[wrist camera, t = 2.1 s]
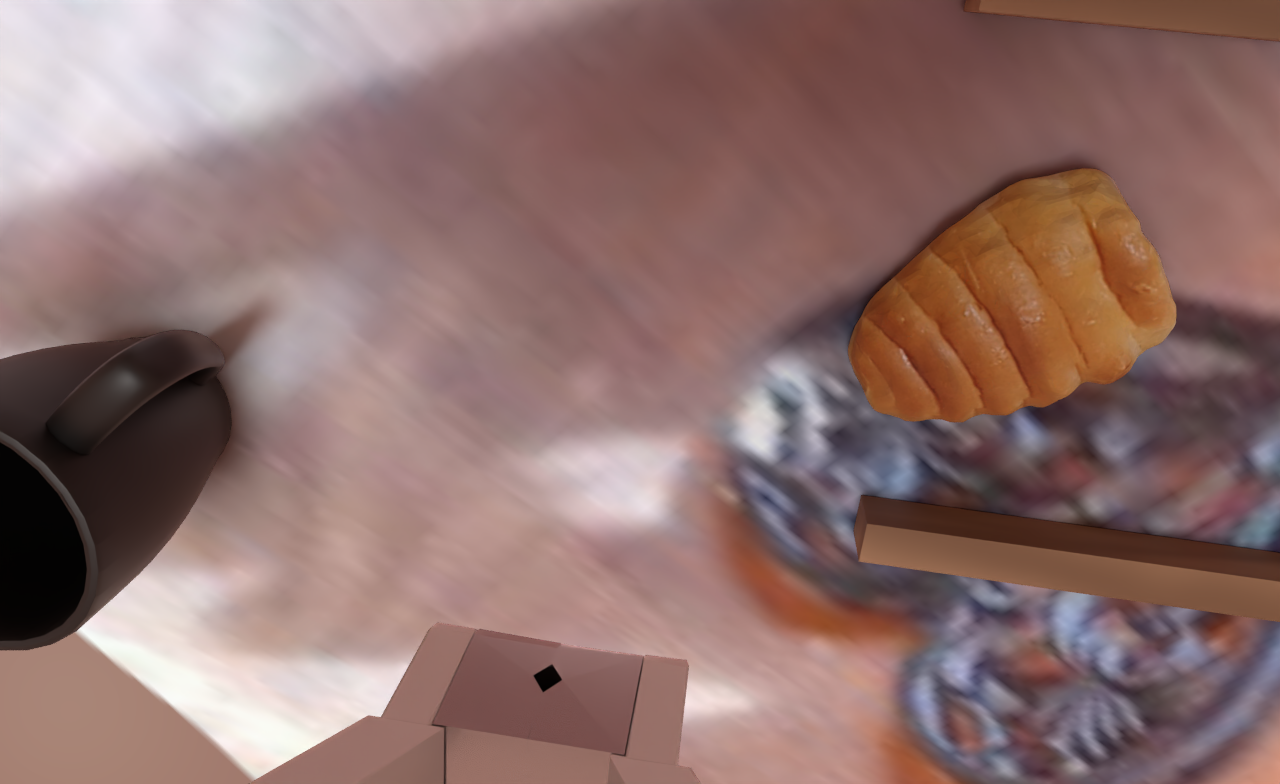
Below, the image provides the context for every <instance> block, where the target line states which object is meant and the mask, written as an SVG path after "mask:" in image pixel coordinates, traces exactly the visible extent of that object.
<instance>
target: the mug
mask: <svg viewBox="0 0 1280 784" xmlns="http://www.w3.org/2000/svg"><path fill="white" fill-rule="evenodd" d="M224 363H225V361H224V356H223V353H222V352H221V350H220V349H219V347H218V346H217V345H216V344H215V343H214V342H213V341H211V340H210V339H209V338H208V337H206V336H204V335H201V334H199V333H197V332H193V331H185V330H172V331H166V332H161V333H157V334H154V335H152V336H149V337H140V338H129V339H125V340H119V341H108V342H93V343H82V344H72V345H64V346H58V347H52V348H45V349H40V350H36V351H31V352H27V353H22V354H18V355H14V356H10V357H7V358H4V359H0V650H30V649H34V648H38V647H42V646H47V645H51V644H53V643H56V642H57V641H59V640H61V639H63V638H65V637H67V636H68V635H70V634H72V633H74V632H76V631H77V630H78V629H79V628H80V627H81V626H83V625H84V624H85V623H86V622H87V621H88V620H89V619H90V618H91V617H93V616H94V615H95V614H96V613H97V612H98V611H99V610H100V609H101V608H103V607H104V606H105V605H106V604H107V603H108V602H109V601H110V600H111V599H113V598H114V597H115V596H116V595H117V594H118V593H119V592H120V591H121V590H122V589H124V588H125V587H126V586H127V585H128V584H129V583H130V582H131V581H132V580H133V579H134V578H135V577H136V576H138V575H139V574H140V572H141V571H142V570H143V569H144V568H145V567H146V566H147V565H148V564H149V563H150V562H151V561H152V560H153V559H154V558H155V556H156V555H157V554H158V553H159V552H160V551H161V549H162V548H163V547H164V546H165V545H166V543H167V542H168V541H169V540H170V539H171V537H172V536H173V535H174V533H175V532H176V531H177V529H178V528H179V526H180V525H181V524H182V522H183V521H184V519H185V518H186V516H187V515H188V513H189V512H190V510H191V508H192V507H193V505H194V503H195V502H196V500H197V498H198V496H199V494H200V493H201V491H202V489H203V487H204V485H205V483H206V481H207V479H208V477H209V475H210V473H211V471H212V469H213V467H214V465H215V463H216V461H217V459H218V457H219V456H220V455H221V453H222V452H223V450H224V448H225V446H226V444H227V442H228V440H229V435H230V430H231V411H230V406H229V403H228V400H227V396H226V394H225V392H224V390H223V388H222V386H221V384H220V382H219V381H218V379H217V378H216V376H215V375H216V374H217V373H218V372H219V371H220V370H221V368H222V367H223V365H224Z"/></svg>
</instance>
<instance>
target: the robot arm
mask: <svg viewBox="0 0 1280 784" xmlns="http://www.w3.org/2000/svg"><path fill="white" fill-rule="evenodd" d="M688 670H689V665H688V662H687V660H682V659H674V658H666V657H659V656H651V655H645V658H644V656H641V655H635V654H628V653H621V652H614V651H607V650H601V649H594V648H587V647H580V646H573V645H567V644H561V643H557V642H551V641H545V640H540V639H534V638H528V637H523V636H517V635H511V634H506V633H500V632H494V631H489V630H483V629H479V630H477V629H474V628H468V627H462V626H456V625H450V624H444V623H439V622H437V623H436V624H435V625H434V626H432V627H431V628H430V629H429V630H428V632H427V634H426V636H425V637H424V639H423V641H422V643H421V645H420V646H419V648H418V650H417V652H416V654H415V656H414V657H413V659H412V661H411V663H410V665H409V667H408V668H407V670H406V672H405V674H404V676H403V678H402V679H401V681H400V683H399V685H398V687H397V689H396V690H395V692H394V694H393V696H392V698H391V700H390V701H389V703H388V705H387V707H386V709H385V710H384V712H383V714H382V716H381V717H375V716H366V717H365V718H363V719H361V720H359V721H358V722H356V723H354V724H352V725H351V726H349V727H347V728H345V729H344V730H342V731H340V732H338V733H337V734H335V735H333V736H331V737H330V738H328V739H326V740H324V741H323V742H321V743H319V744H317V745H316V746H314V747H312V748H310V749H309V750H307V751H305V752H303V753H302V754H300V755H298V756H296V757H295V758H293V759H291V760H289V761H288V762H286V763H284V764H282V765H280V766H279V767H277V768H275V769H273V770H272V771H270V772H268V773H266V774H265V775H263V776H261V777H259V778H258V779H256V780H254V781H252V782H251V783H249V784H701V783H700V781H699V780H698V778H697V777H696V775H695V774H694V772H693V770H692V769H691V768H689V767H684V766H678V759H679V750H680V741H681V732H682V723H683V714H684V705H685V697H686V688H687V679H688Z"/></svg>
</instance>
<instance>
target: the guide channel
mask: <svg viewBox="0 0 1280 784" xmlns="http://www.w3.org/2000/svg"><path fill="white" fill-rule="evenodd" d="M964 11H965V12H975V13H986V14H996V15H1007V16H1017V17H1028V18H1038V19H1049V20H1059V21H1070V22H1080V23H1090V24H1101V25H1111V26H1122V27H1132V28H1143V29H1153V30H1164V31H1174V32H1185V33H1195V34H1206V35H1216V36H1227V37H1237V38H1248V39H1258V40H1269V41H1279V42H1280V0H966V2H965V6H964ZM854 536H855V542H856V547H857V553H858V559H859V561H860V562H867V563H874V564H881V565H888V566H895V567H902V568H909V569H916V570H923V571H930V572H937V573H944V574H951V575H958V576H965V577H972V578H979V579H986V580H992V581H999V582H1006V583H1013V584H1020V585H1027V586H1034V587H1041V588H1048V589H1055V590H1062V591H1069V592H1076V593H1083V594H1090V595H1097V596H1104V597H1111V598H1118V599H1125V600H1132V601H1138V602H1145V603H1152V604H1159V605H1166V606H1173V607H1180V608H1187V609H1194V610H1201V611H1208V612H1215V613H1222V614H1229V615H1236V616H1243V617H1250V618H1257V619H1264V620H1271V621H1277V622H1280V553H1277V552H1270V551H1263V550H1255V549H1248V548H1241V547H1234V546H1226V545H1219V544H1212V543H1205V542H1198V541H1190V540H1183V539H1176V538H1169V537H1161V536H1154V535H1147V534H1140V533H1132V532H1125V531H1118V530H1111V529H1103V528H1096V527H1089V526H1082V525H1074V524H1067V523H1060V522H1053V521H1045V520H1038V519H1031V518H1024V517H1016V516H1009V515H1002V514H995V513H988V512H980V511H973V510H966V509H959V508H951V507H944V506H937V505H930V504H922V503H915V502H908V501H901V500H893V499H886V498H879V497H872V496H864V495H861V498H860V503H859V508H858V513H857V517H856V522H855V527H854Z"/></svg>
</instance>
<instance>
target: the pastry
mask: <svg viewBox="0 0 1280 784" xmlns="http://www.w3.org/2000/svg"><path fill="white" fill-rule="evenodd" d="M1175 324H1176V304H1175V303H1174V300H1173V298H1172V294H1171V290H1170V287H1169V283H1168V280H1167V278H1166V275H1165V273H1164V270H1163V266H1162V263H1161V260H1160V257H1159V255H1158V253H1157V252H1156V250H1155V248H1154V247H1153V245H1152V244H1151V243H1150V241H1149V240H1148V239H1147V238H1146V237H1145V236H1144V235H1143V233H1142V232H1141V226H1140V222H1139V220H1138V219H1137V218H1136V216H1135V215H1134V214H1133V213H1132V211H1131V210H1130V208H1129V206H1128V205H1127V203H1126V201H1125V199H1124V198H1123V196H1122V195H1121V193H1120V191H1119V189H1118V188H1117V186H1116V183H1115V182H1114V180H1113V179H1112V178H1111V177H1110V176H1108V175H1107V174H1106V173H1104V172H1102V171H1100V170H1097V169H1086V168H1081V169H1075V170H1070V171H1065V172H1060V173H1057V174H1053V175H1049V176H1043V177H1037V178H1031V179H1025V180H1021V181H1019V182H1017V183H1014V184H1012V185H1010V186H1008V187H1007V188H1005V189H1004V190H1002V191H1001V192H999V193H998V194H996V195H994V196H992V197H991V198H989V199H987V200H986V201H984V202H982V203H981V204H980V205H978V206H977V207H976V208H975V209H974V210H973V211H972V212H971V213H969V214H968V215H967V216H965V217H964V218H963V219H961V220H960V221H958V222H957V223H955V224H954V225H952V226H951V227H949V228H948V229H947V230H945V231H944V232H943V233H942V234H940V235H939V236H938V237H937V238H936V239H935V240H933V241H932V242H931V243H930V244H929V245H928V246H927V247H926V248H925V249H924V250H923V251H921V252H920V253H919V254H918V255H917V256H916V257H915V258H914V259H913V260H912V261H911V262H909V263H908V264H907V265H906V266H905V267H904V268H903V269H902V270H901V271H900V272H899V273H898V274H897V275H896V276H895V277H893V278H892V279H891V280H890V281H889V282H888V283H887V284H885V285H884V286H883V287H882V288H881V289H880V290H879V291H878V292H877V293H876V294H875V295H874V296H873V297H872V298H871V300H870V301H869V303H868V304H867V306H866V307H865V309H864V311H863V313H862V315H861V317H860V319H859V320H858V322H857V324H856V326H855V328H854V330H853V333H852V336H851V339H850V343H849V346H848V356H849V360H850V362H851V364H852V367H853V370H854V373H855V375H856V377H857V379H858V380H859V382H860V384H861V385H862V388H863V390H864V393H865V395H866V398H867V400H868V402H869V403H870V405H871V406H872V407H873V409H874V410H876V411H877V412H880V413H883V414H889V415H892V416H895V417H899V418H901V419H903V420H905V421H922V420H926V419H943V420H946V421H949V422H964V421H966V420H968V419H969V418H972V417H974V416H977V415H981V414H989V415H1008V414H1011V413H1013V412H1015V411H1016V410H1018V409H1020V408H1023V407H1025V406H1035V407H1045V406H1048V405H1050V404H1052V403H1054V402H1056V401H1057V400H1059V399H1062V398H1065V397H1067V396H1068V395H1069V394H1071V393H1072V392H1073V391H1074V390H1075V389H1076V388H1077V387H1078V386H1079V385H1080V384H1082V383H1084V382H1093V383H1099V384H1109V383H1113V382H1114V381H1116V380H1118V379H1119V378H1121V377H1123V376H1124V375H1125V374H1126V373H1127V372H1128V371H1129V370H1130V369H1131V367H1132V366H1133V364H1134V362H1135V361H1136V359H1137V357H1138V356H1139V355H1140V354H1142V353H1143V352H1144V351H1145V350H1147V349H1149V348H1151V347H1153V346H1156V345H1158V344H1160V343H1162V342H1163V341H1164V339H1165V338H1166V337H1167V336H1168V335H1169V333H1170V331H1171V330H1172V329H1173V328H1174V326H1175Z"/></svg>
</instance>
